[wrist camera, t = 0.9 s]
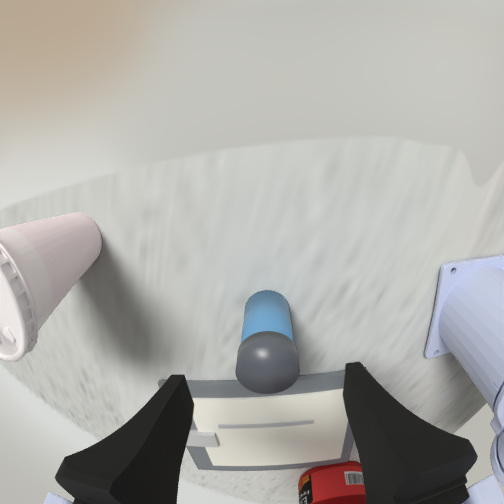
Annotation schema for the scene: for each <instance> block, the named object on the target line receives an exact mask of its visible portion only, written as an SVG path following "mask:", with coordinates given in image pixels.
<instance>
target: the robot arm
mask: <svg viewBox="0 0 504 504" xmlns="http://www.w3.org/2000/svg"><path fill="white" fill-rule="evenodd" d="M452 268H454V269H453V271H452V272H451V270H452ZM448 353H452V354H453V355H454V356H455V358H456V359H457V360H458V362H459V363H460V364H461V366H462V367H463V369H464V370H465V371H466V373H467V374H468V375H469V377H470V378H471V380H472V381H473V383H474V384H475V385H476V387H477V388H478V390H479V391H480V393H481V394H482V396H483V397H484V399H485V400H486V402H487V403H488V405H489V406H490V408H491V409H492V411H493V412H494V418H493V420H492V421H491V423H490V425H491V426H492V428H493V430H494V431H495V433H496V436H495V438H494V440H493V443H492V446H491V453H490V458H491V465H492V469H493V471H494V474H495V476H496V477H497V479H498V481H499V482H500V483H501V484H502V485H503V486H504V255H498V256H492V257H486V258H479V259H473V260H466V261H459V262H452V263H446V264H444V265H443V266H442V267H441V269H440V275H439V282H438V289H437V295H436V301H435V307H434V312H433V317H432V322H431V327H430V331H429V336H428V340H427V344H426V348H425V352H424V355H425V356H426V358H433V357H437V356H441V355H444V354H448ZM343 400H344V405H345V410H346V415H347V418H348V421H349V424H350V427H351V431H352V434H353V437H354V440H355V443H356V446H357V449H358V453H359V457H360V462H361V468H362V474H363V480H364V487H365V496H366V504H504V496H503V493H502V491H501V489H500V487H499V484H498V482H497V480H496V478H495V476H494V475H490V476H488V477H486V478H485V479H483V480H481V481H479V482H477V483H475V484H473V485H472V486H470V487H469V488H466V486H465V483H467V479H466V476H465V475H466V473H467V472H468V471H469V470H470V469H471V467H472V466H473V465H474V463H475V462H476V460H477V454H476V452H475V450H474V448H473V446H472V444H471V443H470V441H469V440H468V439H465V438H462V437H459V436H456V435H453V434H450V433H448V432H446V431H443V430H441V429H439V428H437V427H435V426H433V425H431V424H430V423H428V422H426V421H424V420H422V419H421V418H419V417H418V416H416V415H415V414H413V413H412V412H410V411H409V410H408V409H406V408H405V407H404V406H403V405H401V404H400V403H399V402H398V401H397V400H396V399H394V398H393V397H392V396H391V395H390V394H389V393H388V392H387V391H386V390H385V389H384V388H383V387H382V386H381V385H380V384H379V383H378V382H377V381H376V380H375V379H374V378H373V377H372V375H371V374H370V373H369V372H368V371H367V370H366V369H365V367H364V366H363V365H362V364H361V363H360V362H354V363H347V364H346V368H345V377H344V387H343ZM193 412H194V402H193V399H192V396H191V393H190V390H189V387H188V384H187V381H186V378H185V375H171V376H170V377H169V378H168V380H167V381H166V382H165V383H164V384H163V385H162V387H161V388H160V389H159V390H158V391H157V392H156V394H155V395H154V396H153V397H152V398H151V399H150V400H149V401H148V402H147V403H146V405H145V406H144V407H143V408H142V409H141V410H140V411H139V412H138V413H137V414H136V415H135V416H134V417H132V418H131V419H130V420H129V421H128V422H127V423H126V424H124V425H123V426H122V427H121V428H119V429H118V430H117V431H115V432H114V433H112V434H111V435H109V436H108V437H106V438H105V439H103V440H101V441H100V442H98V443H96V444H94V445H92V446H90V447H88V448H86V449H84V450H82V451H80V452H77V453H74V454H72V455H69V456H67V457H65V458H64V460H63V462H62V464H61V466H60V468H59V470H58V472H57V474H56V476H55V479H56V481H57V482H58V483H59V485H61V486H62V487H63V488H64V489H65V490H66V491H67V492H68V493H69V494H71V495H72V496H73V497H74V498H75V500H74V502H73V503H72V502H71V501H69V500H67V499H65V498H63V497H60V496H58V495H56V494H53V493H51V492H49V493H48V495H47V498H46V499H45V501H44V504H177V492H178V482H179V474H180V467H181V463H182V458H183V455H184V451H185V447H186V444H187V440H188V436H189V433H190V429H191V425H192V420H193Z"/></svg>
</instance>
